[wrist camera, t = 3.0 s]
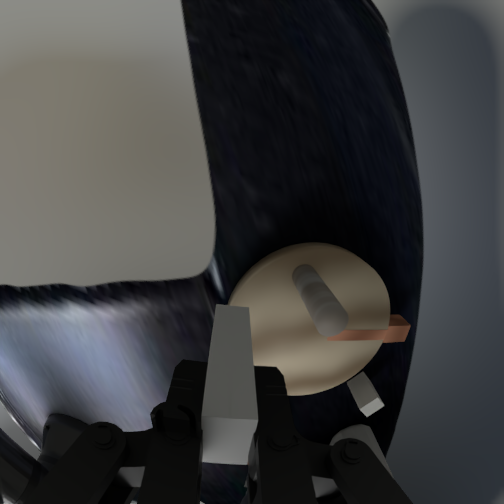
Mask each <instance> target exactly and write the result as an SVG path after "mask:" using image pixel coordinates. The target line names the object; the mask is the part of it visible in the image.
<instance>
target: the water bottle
mask: <svg viewBox="0 0 504 504" xmlns="http://www.w3.org/2000/svg"><path fill="white" fill-rule="evenodd" d="M345 438H354V439H359V440H361V441H363V442H365V443H366V444H367V445H368V446H369V447H370V448H371V450H372V451H373V452H374V454H375V455H376V456H377V458H378V459H379V460H380V461H381V463H382V464H383V465H384V467H385V468H386V469H387V471H388V472H389V473H390V475H391V476H392V477H393V475H392V473H391V471H390V469H389V467H388V464H387V462H386V460H385V458H384V456H383V454H382V451H381V449H380V447H379V445H378V443H377V441H376V439H375V436H374V434H373V432H372V430H371V428H370V427H369V426H366V425H362V424H358V425H353V426H349V427H347V428H345V429H343V430H341V431H339V432H338V433H337V434H336V435H335V436H334V437H333V438H332V440H331V442H330V444H329V445H334V444H335V443H336V442H337V441H339V440H341V439H345ZM393 479H394V478H393Z"/></svg>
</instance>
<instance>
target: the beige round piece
mask: <svg viewBox="0 0 504 504" xmlns="http://www.w3.org/2000/svg"><path fill="white" fill-rule="evenodd" d="M228 305H230V306H240V307H249V313H250V326H251V338H252V351H253V363H254V366H273V367H277V368H278V369H279V370H280V372H281V373H282V374H283V375H284V379H285V384H286V389H287V395H292V396H293V395H307V394H313V393H318V392H322V391H325V390H328V389H330V388H333V387H335V386H337V385H339V384H341V383H343V382H345V381H346V380H348V379H349V378H351V377H352V376H354V375H355V374H356V373H358V372H359V371H360V370H361V369H362V368H363V367H364V366H365V365H366V364H367V363H368V362H369V361H370V360H371V359H372V357H373V356H374V355H375V354H376V352H377V351H378V349H379V347H380V346H381V344H382V343H386V342H403V341H405V339H406V336H407V334H408V331H409V329H410V326H411V325H410V324H409V323H408V322H407V321H406V320H405V319H404V318H403V317H402V316H401V315H390V300H389V296H388V292H387V289H386V287H385V284H384V283H383V281H382V279H381V277H380V276H379V275H378V274H377V272H376V271H375V270H374V269H373V268H372V267H371V266H369V265H368V264H367V263H366V262H365V261H363V260H362V259H361V258H359V257H358V256H357V255H355V254H354V253H352V252H350V251H349V250H347V249H344V248H342V247H339V246H336V245H332V244H328V243H319V242H311V243H301V244H295V245H291V246H288V247H285V248H282V249H279V250H277V251H275V252H273V253H271V254H269V255H267V256H266V257H264V258H262V259H261V260H260V261H258V262H257V263H256V264H255V265H253V266H252V267H251V268H250V269H249V270H248V271H247V272H246V273H245V274H244V275H243V277H242V278H241V279H240V281H239V282H238V283H237V285H236V287H235V288H234V290H233V292H232V294H231V296H230V299H229V302H228Z"/></svg>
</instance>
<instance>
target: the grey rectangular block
mask: <svg viewBox="0 0 504 504" xmlns="http://www.w3.org/2000/svg"><path fill="white" fill-rule="evenodd" d="M347 384H348V386H349V388H350V391H351V393H352V395H353V397H354V399H355V401H356V403H357V405H358V407H359V409H360V410H361V411H362V412H363V413H364V414H365V415H366V417H368V416H369V415H371V414H373V413H374V412H376V411H377V410H379V409H380V408H382V407H383V406H384V404H383V402H382V400H381V399H380V397H379V395H378V393H377V392H376V390H375V388H374V387H373V385H372V383H371V381H370V380H369V379H368V377H367V376H366V375H365V373H364V372H361V373H360V374H358V375H357V376H355V377H354V378H353V379H351V380H350V381H348V382H347Z"/></svg>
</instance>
